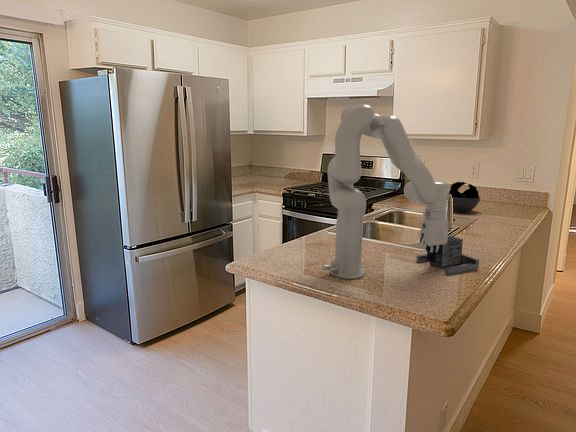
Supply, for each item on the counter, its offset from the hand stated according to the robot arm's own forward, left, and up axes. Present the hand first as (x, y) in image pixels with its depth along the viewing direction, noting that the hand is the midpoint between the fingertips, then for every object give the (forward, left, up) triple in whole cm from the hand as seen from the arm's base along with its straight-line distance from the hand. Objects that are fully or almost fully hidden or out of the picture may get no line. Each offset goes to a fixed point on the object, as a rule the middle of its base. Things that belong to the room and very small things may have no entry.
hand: (430, 261), depth 161 cm
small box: (+9, +1, -3) cm, 9 cm away
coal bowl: (+95, +77, -3) cm, 122 cm away
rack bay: (+8, 0, -3) cm, 8 cm away
